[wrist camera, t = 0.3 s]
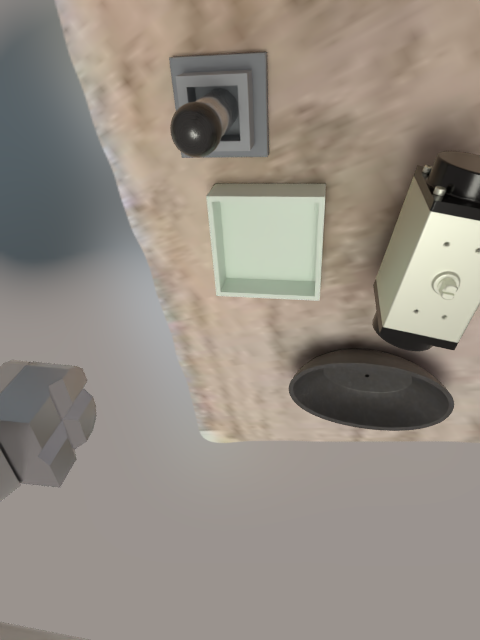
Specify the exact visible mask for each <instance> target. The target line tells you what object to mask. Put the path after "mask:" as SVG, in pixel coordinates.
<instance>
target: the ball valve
mask: <svg viewBox="0 0 480 640" xmlns="http://www.w3.org/2000/svg"><path fill="white" fill-rule="evenodd" d="M373 286H374V294H375V302H376V310H377V311H376V313H375V316H374V318H373V328H374V330H375V331H376V333H377V334H378V335H379V336H380V337H381V338H382V339H384V340H385V341H386V342H388V343H390V344H392V345H394V346H396V347H398V348H401V349H405V350H410V351H424V350H428V349H430V348H431V347H432V346H436V347H441V348H446V349H450V350H455V348H456V346H457V344H458V342H459V341H460V339H461V337H462V335H463V333H464V331H465V330H466V328H467V326H468V324H469V322H470V321H471V319H472V317H473V315H474V313H475V312H476V310H477V308H478V306H479V304H480V155H476V154H471V153H466V152H459V151H443V152H440V153H438V154H437V156H436V159H435V161H434V164H433V166H429V165H425V166H424V167H423V166H417V168H416V171H415V174H414V176H413V179H412V182H411V184H410V187H409V190H408V193H407V195H406V198H405V201H404V204H403V206H402V209H401V212H400V214H399V217H398V220H397V223H396V225H395V228H394V231H393V233H392V236H391V239H390V242H389V244H388V247H387V250H386V253H385V255H384V258H383V261H382V263H381V266H380V269H379V272H378V274H377V277H376V280H375V282H374V285H373Z"/></svg>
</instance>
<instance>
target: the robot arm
mask: <svg viewBox="0 0 480 640" xmlns="http://www.w3.org/2000/svg"><path fill="white" fill-rule="evenodd" d="M86 383H87V379H86V376H85V373H84V372H83V369H82V368H80V367H77V366H70V365H61V364H51V363H42V362H27V361H17V360H10V361H8V362H5V363H3V364H2V365H1V366H0V502H1V501H2V500H3V499H4V498H6V497H7V496H8V495H10V493H12V492H13V491H15V490H16V489H17V488H18V487H20V483H23V484H33V485H42V486H52V487H60V486H61V485H62V483H63V481H64V480H65V478H66V476H67V474H68V473H69V471H70V469H71V468H72V466H73V464H74V462H75V461H76V454H75V449H76V448H77V447H79V446H80V445H82V444H83V443H85V442H86V441H87V440H88V438H89V436H90V435H91V433H92V431H93V428H94V424H95V420H96V405H95V402H94V399H93V397H92V395H90V394H89V393H88V392H87V391H86V390H85V389H84V386H85V384H86ZM0 640H89V639H84V638H79V637H74V636H69V635H64V634H58V633H54V632H48V631H44V630H39V629H34V628H28V627H23V626H18V625H13V624H9V623H4V622H0Z"/></svg>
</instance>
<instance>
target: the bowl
mask: <svg viewBox="0 0 480 640" xmlns="http://www.w3.org/2000/svg"><path fill="white" fill-rule="evenodd" d="M289 393H290V396H291V398H292V399H293V401H294V402H295V403H296V404H297V405H298V406H300V407H301V408H302V409H304V410H305V411H307V412H309V413H311V414H313V415H315V416H317V417H320V418H323V419H325V420H328V421H332V422H335V423H339V424H343V425H348V426H353V427H359V428H365V429H374V430H390V431H400V430H414V429H421V428H426V427H429V426H433V425H435V424H438V423H440V422H442V421H443V420H445V419H446V418H447V417H448V416H449V415H450V414H451V413H452V411H453V408H454V401H453V398H452V396H451V394H450V393H449V392H448V390H447V389H446V388H445V387H444V386H443V385H442V384H441V383H440V382H439V381H438V380H437V379H436V378H435V377H434V376H432V375H431V374H430V373H429V372H427V371H426V370H424V369H423V368H421V367H420V366H418V365H416V364H414V363H412V362H410V361H408V360H406V359H403V358H401V357H398V356H395V355H392V354H389V353H385V352H380V351H375V350H366V349H344V350H337V351H333V352H329V353H326V354H323V355H321V356H318V357H316V358H314V359H313V360H311V361H309V362H308V363H307V364H305V365H304V366H303V367H302V368H301V369H300V370H299V371H298V372H297V373H296V375H295V376H294V377H293V379H292V380H291V382H290V385H289Z"/></svg>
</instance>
